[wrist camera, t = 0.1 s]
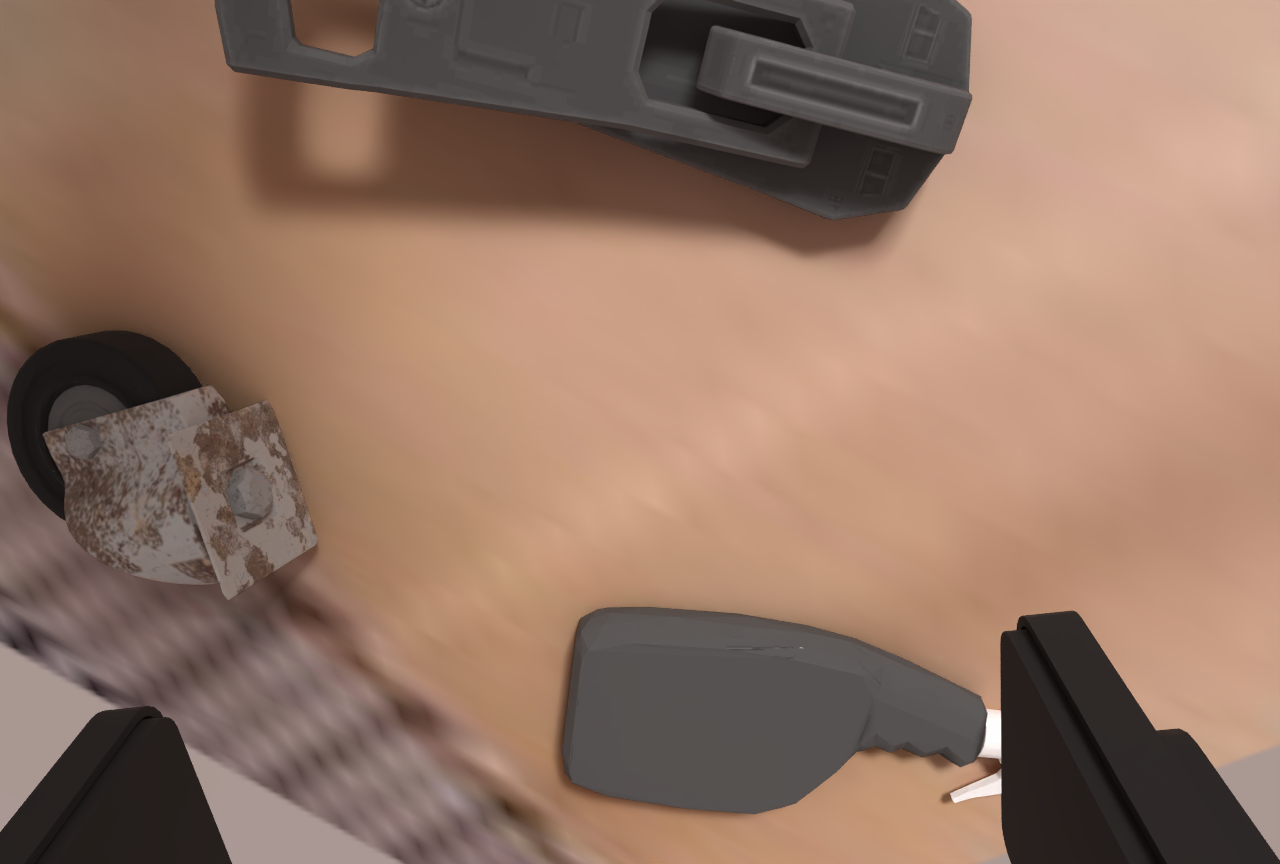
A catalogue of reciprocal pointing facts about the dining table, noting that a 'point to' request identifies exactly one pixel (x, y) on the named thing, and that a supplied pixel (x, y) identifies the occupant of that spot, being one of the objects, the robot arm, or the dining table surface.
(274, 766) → the dining table surface
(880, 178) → the zipper pull
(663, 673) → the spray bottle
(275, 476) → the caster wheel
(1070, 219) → the dining table surface
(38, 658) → the dining table surface
